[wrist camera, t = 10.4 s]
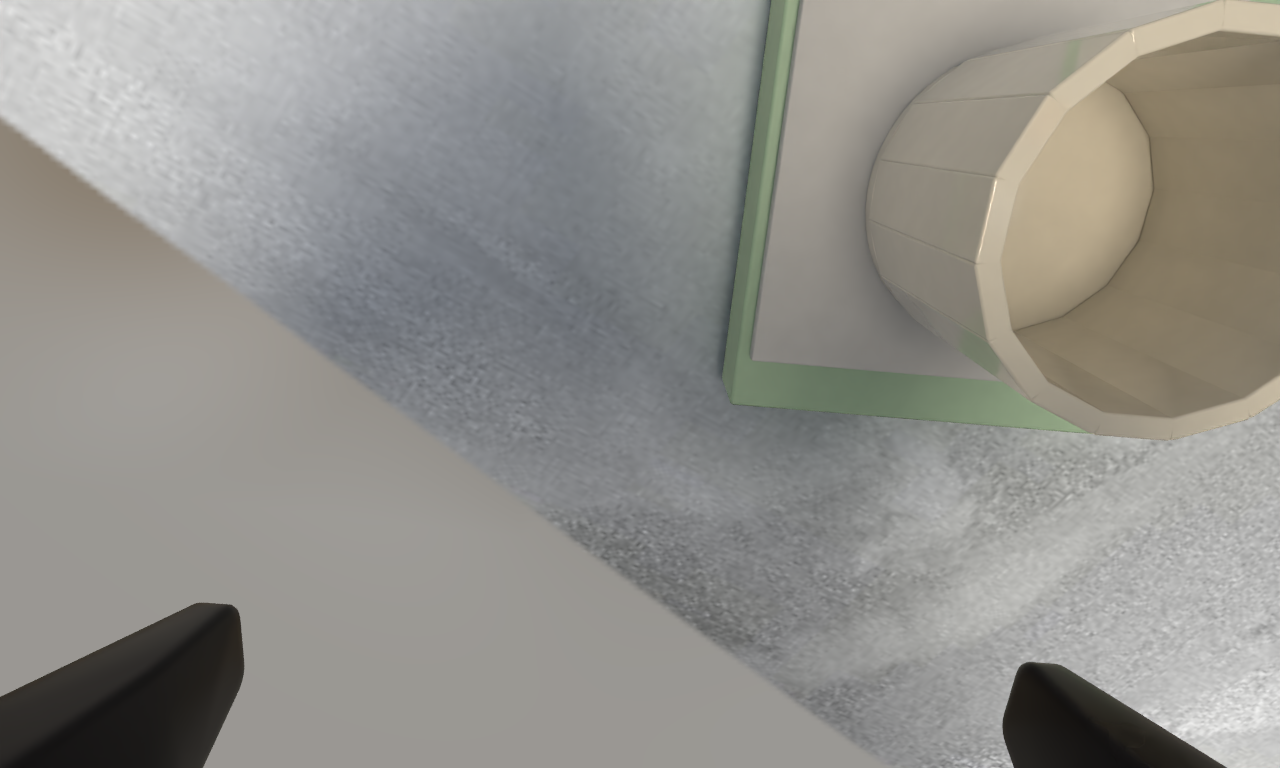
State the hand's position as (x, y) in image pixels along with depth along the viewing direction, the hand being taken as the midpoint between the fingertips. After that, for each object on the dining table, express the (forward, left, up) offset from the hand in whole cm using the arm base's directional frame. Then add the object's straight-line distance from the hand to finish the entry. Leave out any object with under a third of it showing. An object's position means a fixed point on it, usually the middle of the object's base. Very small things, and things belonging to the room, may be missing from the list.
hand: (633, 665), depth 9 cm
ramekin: (+5, -8, -10) cm, 14 cm away
